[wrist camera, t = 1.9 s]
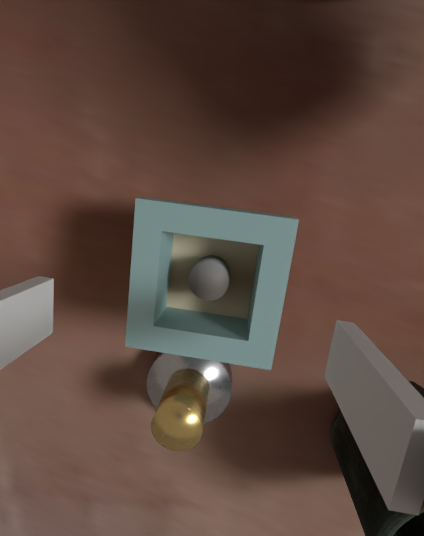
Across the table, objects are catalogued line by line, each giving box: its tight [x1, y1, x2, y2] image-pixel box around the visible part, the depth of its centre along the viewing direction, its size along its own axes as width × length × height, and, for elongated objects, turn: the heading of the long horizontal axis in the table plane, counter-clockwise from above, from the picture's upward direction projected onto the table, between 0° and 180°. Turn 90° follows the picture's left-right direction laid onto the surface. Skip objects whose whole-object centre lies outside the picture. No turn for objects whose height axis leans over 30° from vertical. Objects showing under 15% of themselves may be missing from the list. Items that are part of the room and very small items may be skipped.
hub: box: [147, 352, 232, 451], centre depth 28 cm, size 8×8×8 cm
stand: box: [167, 233, 259, 319], centre depth 26 cm, size 8×8×7 cm
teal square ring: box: [125, 198, 299, 370], centre depth 22 cm, size 10×10×4 cm
